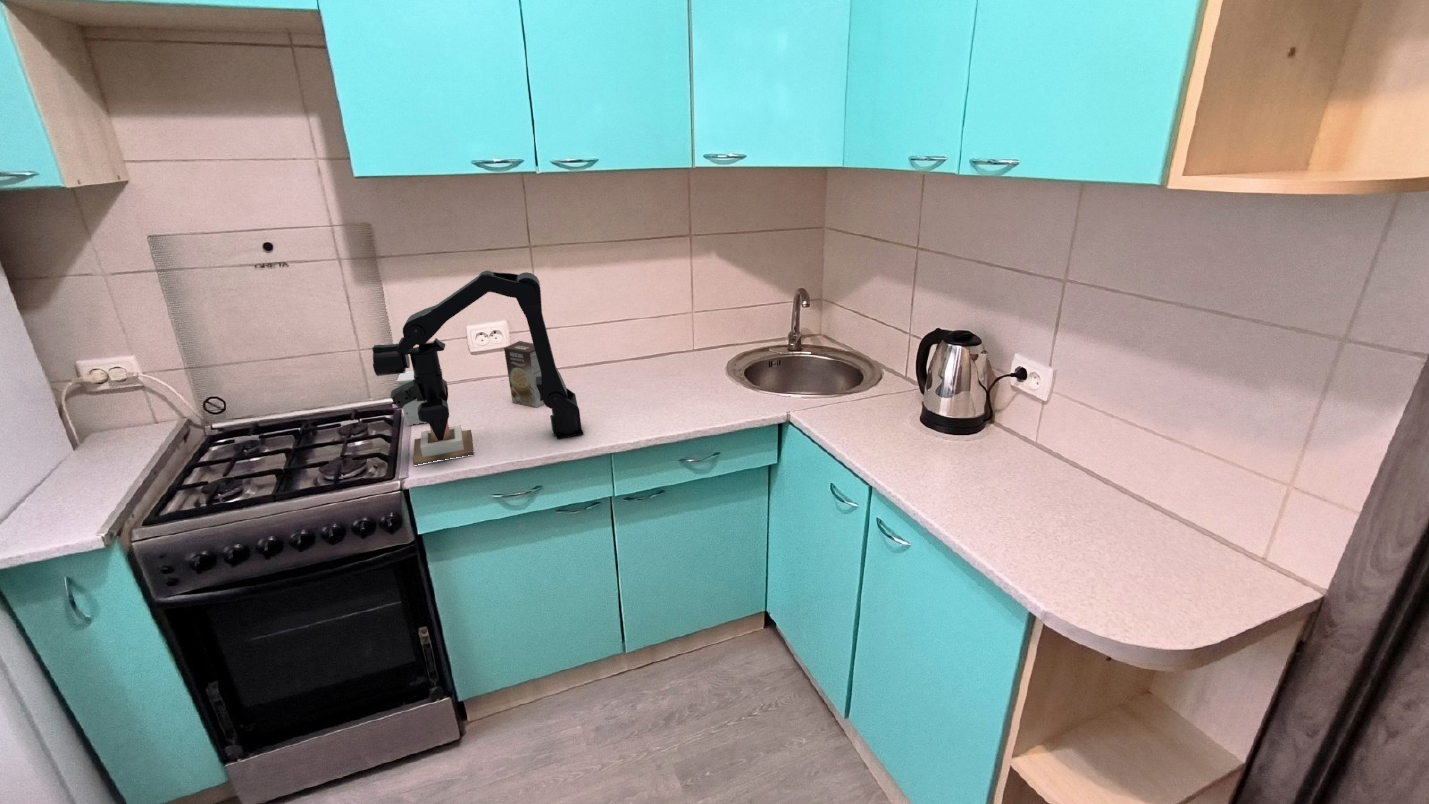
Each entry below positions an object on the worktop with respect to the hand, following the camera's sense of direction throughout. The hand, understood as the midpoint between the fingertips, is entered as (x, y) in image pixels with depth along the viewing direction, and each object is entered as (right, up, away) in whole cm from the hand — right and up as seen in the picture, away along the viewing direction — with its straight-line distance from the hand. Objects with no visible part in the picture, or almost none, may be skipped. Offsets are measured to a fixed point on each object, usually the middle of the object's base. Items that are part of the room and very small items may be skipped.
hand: (440, 432), depth 158 cm
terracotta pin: (0, -3, +1) cm, 4 cm away
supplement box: (-12, +2, +18) cm, 22 cm away
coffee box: (+14, +7, +27) cm, 32 cm away
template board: (0, -4, +2) cm, 4 cm away
